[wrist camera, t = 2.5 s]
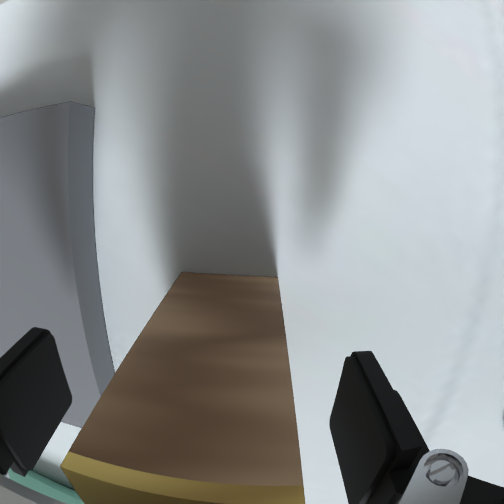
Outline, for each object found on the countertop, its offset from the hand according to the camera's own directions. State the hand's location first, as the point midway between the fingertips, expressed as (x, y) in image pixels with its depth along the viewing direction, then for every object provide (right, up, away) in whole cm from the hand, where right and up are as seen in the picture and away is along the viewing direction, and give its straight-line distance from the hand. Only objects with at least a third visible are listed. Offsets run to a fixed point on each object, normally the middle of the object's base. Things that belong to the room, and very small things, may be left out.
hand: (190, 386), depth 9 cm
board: (-14, +3, +5) cm, 15 cm away
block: (+1, +1, +5) cm, 5 cm away
